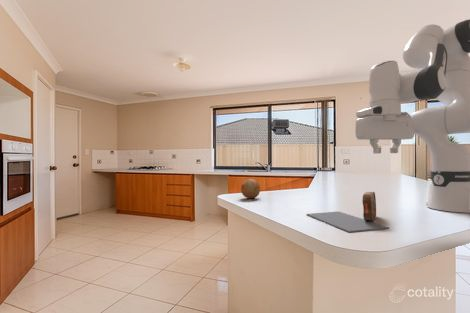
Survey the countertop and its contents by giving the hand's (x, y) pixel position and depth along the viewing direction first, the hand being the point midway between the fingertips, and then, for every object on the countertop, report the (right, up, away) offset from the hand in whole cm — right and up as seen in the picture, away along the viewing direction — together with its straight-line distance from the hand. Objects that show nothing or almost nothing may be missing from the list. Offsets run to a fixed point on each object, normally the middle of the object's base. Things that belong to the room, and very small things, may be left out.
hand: (385, 153), depth 82 cm
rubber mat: (-15, -21, -3) cm, 27 cm away
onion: (-42, -23, +45) cm, 65 cm away
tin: (-6, -21, -2) cm, 22 cm away
